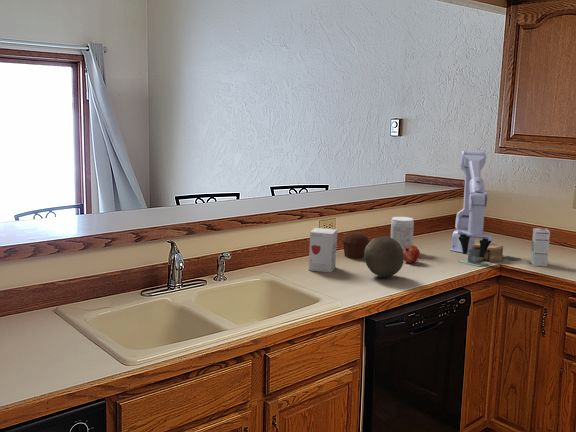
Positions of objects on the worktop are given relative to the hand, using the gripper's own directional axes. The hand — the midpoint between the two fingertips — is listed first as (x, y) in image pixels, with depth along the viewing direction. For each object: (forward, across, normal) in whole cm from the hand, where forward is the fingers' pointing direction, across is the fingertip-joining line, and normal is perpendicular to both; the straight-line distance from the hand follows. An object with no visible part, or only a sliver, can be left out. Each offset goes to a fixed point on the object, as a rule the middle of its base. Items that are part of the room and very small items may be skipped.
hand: (473, 255), depth 251 cm
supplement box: (+4, -31, -56) cm, 64 cm away
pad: (+3, 0, +1) cm, 3 cm away
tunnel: (+3, 0, +11) cm, 12 cm away
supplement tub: (+3, -30, -8) cm, 31 cm away
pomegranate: (+3, -16, -20) cm, 26 cm away
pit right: (+3, +6, +20) cm, 21 cm away
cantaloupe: (+4, -9, -47) cm, 48 cm away
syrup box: (+3, +18, +20) cm, 27 cm away
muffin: (+3, -37, -30) cm, 48 cm away
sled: (+3, 0, +7) cm, 7 cm away
